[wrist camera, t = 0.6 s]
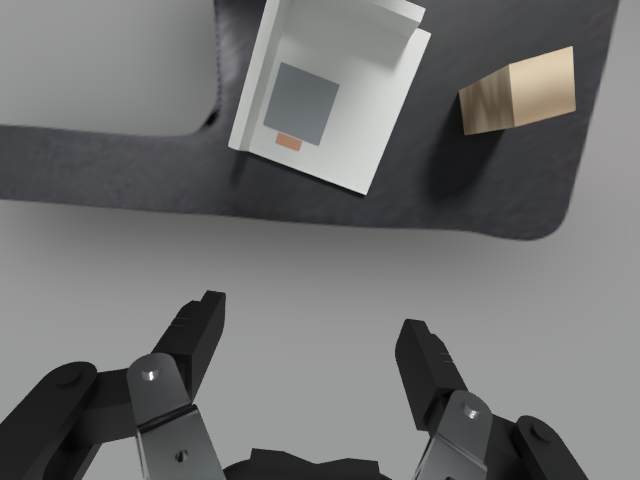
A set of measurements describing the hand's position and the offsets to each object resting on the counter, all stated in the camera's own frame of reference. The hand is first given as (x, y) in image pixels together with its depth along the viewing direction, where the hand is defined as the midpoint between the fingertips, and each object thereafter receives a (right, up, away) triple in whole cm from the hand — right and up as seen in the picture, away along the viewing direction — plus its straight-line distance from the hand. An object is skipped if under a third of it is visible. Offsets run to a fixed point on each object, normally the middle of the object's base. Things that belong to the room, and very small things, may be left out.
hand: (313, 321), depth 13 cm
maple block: (+19, +19, +21) cm, 34 cm away
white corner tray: (+1, +20, +22) cm, 30 cm away
